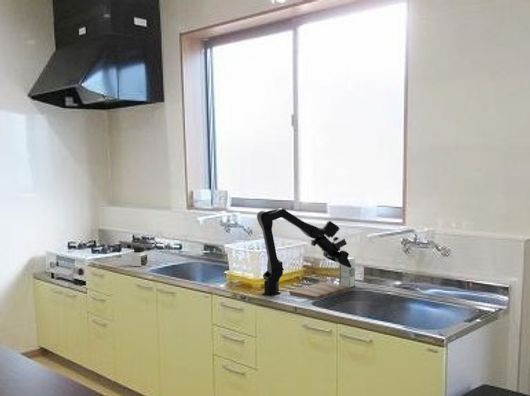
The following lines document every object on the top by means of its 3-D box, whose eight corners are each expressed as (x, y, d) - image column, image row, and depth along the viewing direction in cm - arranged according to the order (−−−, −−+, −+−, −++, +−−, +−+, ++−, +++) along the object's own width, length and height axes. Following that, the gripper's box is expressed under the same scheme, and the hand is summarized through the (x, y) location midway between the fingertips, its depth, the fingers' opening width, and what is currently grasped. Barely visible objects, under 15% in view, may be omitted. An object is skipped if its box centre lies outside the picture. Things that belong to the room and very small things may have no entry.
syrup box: (345, 284, 267) (344, 256, 266) (355, 286, 263) (355, 257, 262) (339, 286, 263) (338, 257, 262) (349, 288, 259) (349, 259, 258)
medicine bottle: (141, 267, 325) (140, 247, 324) (131, 266, 327) (130, 247, 326) (147, 264, 331) (147, 245, 331) (137, 264, 334) (137, 245, 333)
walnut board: (315, 299, 239) (315, 296, 238) (289, 294, 250) (289, 291, 250) (348, 290, 255) (348, 287, 255) (322, 285, 267) (322, 282, 267)
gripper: (344, 234, 251) (366, 256, 255) (328, 230, 268) (348, 250, 272) (329, 252, 249) (351, 273, 253) (314, 246, 267) (334, 266, 271)
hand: (346, 265), depth 262 cm, fingers open, 9 cm apart
